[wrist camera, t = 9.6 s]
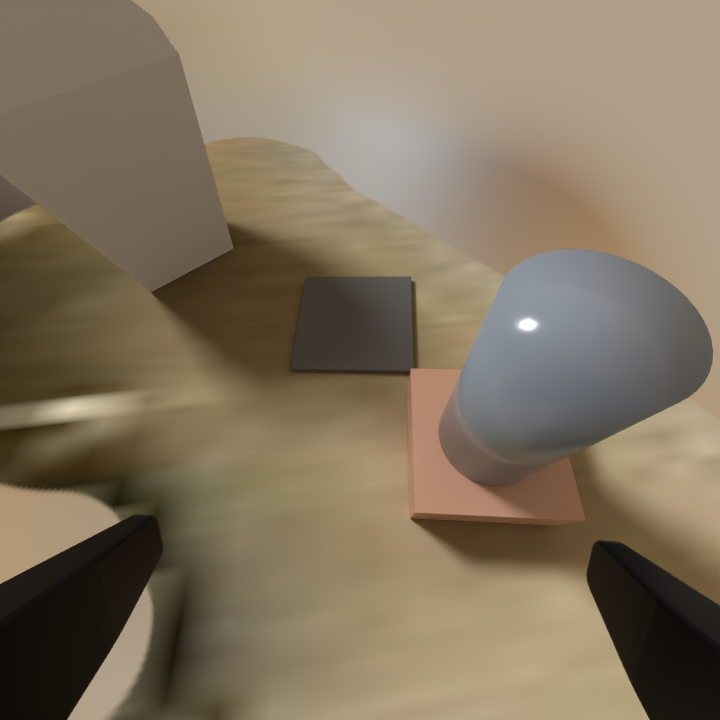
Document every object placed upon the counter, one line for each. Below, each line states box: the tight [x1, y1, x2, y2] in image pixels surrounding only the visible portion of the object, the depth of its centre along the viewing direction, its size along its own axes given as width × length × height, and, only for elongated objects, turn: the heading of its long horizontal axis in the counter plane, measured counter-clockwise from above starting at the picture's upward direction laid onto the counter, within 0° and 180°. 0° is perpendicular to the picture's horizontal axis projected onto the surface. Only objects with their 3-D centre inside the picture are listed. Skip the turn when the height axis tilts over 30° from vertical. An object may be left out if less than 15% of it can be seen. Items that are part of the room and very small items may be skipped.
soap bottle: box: [0, 0, 234, 292], centre depth 21 cm, size 12×10×26 cm
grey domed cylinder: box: [439, 249, 713, 487], centre depth 13 cm, size 5×5×10 cm
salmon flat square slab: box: [407, 369, 586, 526], centre depth 19 cm, size 8×8×4 cm
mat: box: [290, 277, 414, 373], centre depth 26 cm, size 9×9×1 cm
